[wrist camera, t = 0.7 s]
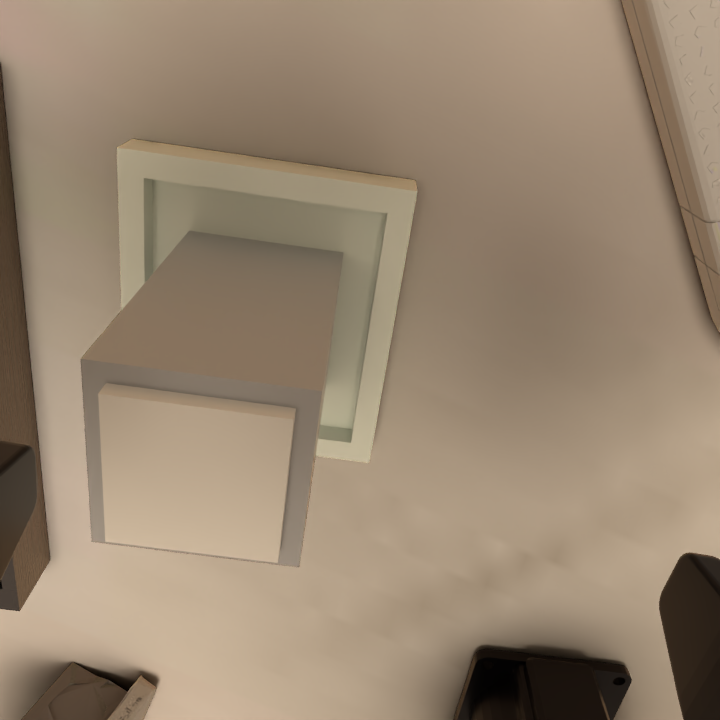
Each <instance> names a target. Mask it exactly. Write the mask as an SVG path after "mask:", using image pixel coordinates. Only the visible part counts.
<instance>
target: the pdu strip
mask: <svg viewBox="0 0 720 720" xmlns="http://www.w3.org/2000/svg"><path fill="white" fill-rule="evenodd" d="M0 441H10V442H16V443H22V444H28V445H30V446H31V447H32V448H33V449H34V451H35V456H36V474H37V501H36V506H35V509H34V511H33V514H32V516H31V518H30V520H29V522H28V524H27V526H26V528H25V530H24V533H23V535H22V537H21V539H20V541H19V543H18V545H17V547H16V549H15V551H14V553H13V556H12V558H11V560H10V562H9V564H8V566H7V568H6V570H5V572H4V574H3V576H2V579H1V581H0V609H6V610H15V611H20V610H21V608H22V606H23V605H24V603H25V601H26V600H27V598H28V596H29V595H30V593H31V591H32V590H33V588H34V586H35V585H36V583H37V581H38V580H39V578H40V576H41V575H42V573H43V571H44V570H45V568H46V566H47V564H48V563H49V561H50V556H49V546H48V536H47V526H46V516H45V506H44V496H43V486H42V476H41V466H40V456H39V446H38V436H37V426H36V416H35V406H34V396H33V386H32V376H31V366H30V356H29V346H28V336H27V326H26V316H25V306H24V296H23V286H22V276H21V266H20V256H19V246H18V236H17V226H16V216H15V206H14V196H13V186H12V176H11V166H10V156H9V146H8V136H7V126H6V116H5V106H4V96H3V86H2V76H1V66H0Z"/></svg>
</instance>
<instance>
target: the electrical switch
mask: <svg viewBox="0 0 720 720" xmlns="http://www.w3.org/2000/svg"><path fill="white" fill-rule="evenodd" d="M155 691H156V687H155V686H154V685H152V684H151V683H150V682H148V681H147V680H146V679H144V678H143V677H142V675H141V676H140V677H139V678H138V679H137V681H136V682H135V683H134V684H133V685H132V687H131V688H130V689H129V691H128V692H127V691H125V690H124V689H122V688H120V687H119V686H117V685H116V684H114V683H113V682H111V681H109V680H107V679H104V678H101V677H98V676H96V675H94V674H92V673H91V672H89V671H87V670H86V669H84V668H82V667H81V666H79V665H77V664H76V663H73V662H72V663H71V664H70V666H69V667H68V668H67V669H66V670H65V671H64V672H63V673H62V675H61V676H60V677H59V678H58V679H57V680H56V681H55V682H54V684H53V685H52V686H51V687H50V688H49V689H48V690H47V691H46V692H45V694H44V695H43V696H42V697H41V698H40V699H39V700H38V701H37V703H36V704H35V705H34V706H33V707H32V708H31V709H30V710H29V712H28V713H27V714H26V715H25V716H24V717H23V718H22V719H21V720H143V719H144V717H145V715H146V712H147V710H148V708H149V706H150V703H151V701H152V699H153V696H154V694H155Z"/></svg>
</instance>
